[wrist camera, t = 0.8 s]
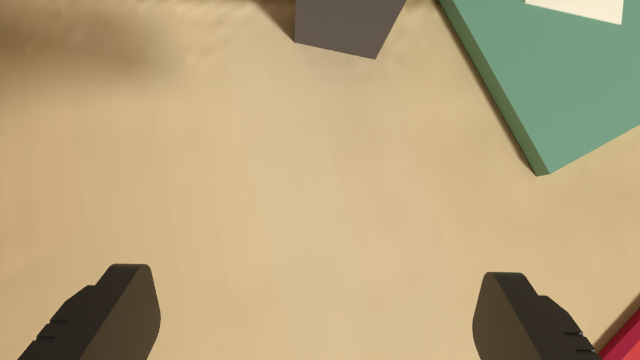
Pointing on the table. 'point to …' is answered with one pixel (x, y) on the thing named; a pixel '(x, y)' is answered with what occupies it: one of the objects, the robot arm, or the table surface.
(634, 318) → the red board with handle
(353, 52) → the block
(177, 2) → the table surface
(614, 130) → the header board
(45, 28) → the table surface
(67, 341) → the robot arm
